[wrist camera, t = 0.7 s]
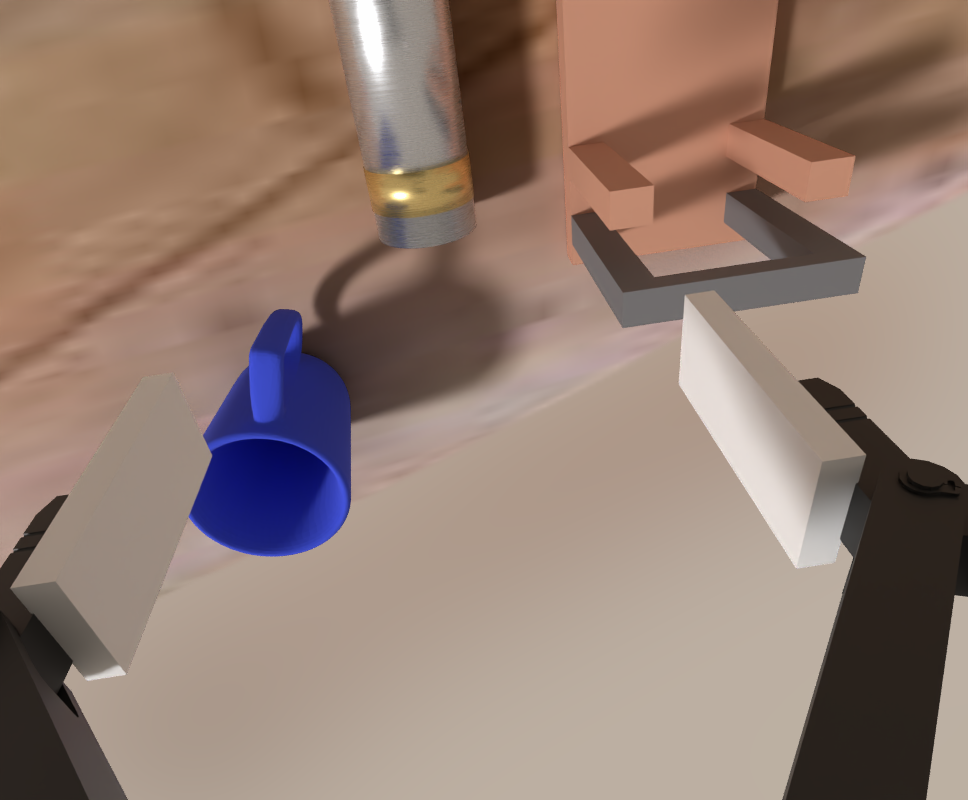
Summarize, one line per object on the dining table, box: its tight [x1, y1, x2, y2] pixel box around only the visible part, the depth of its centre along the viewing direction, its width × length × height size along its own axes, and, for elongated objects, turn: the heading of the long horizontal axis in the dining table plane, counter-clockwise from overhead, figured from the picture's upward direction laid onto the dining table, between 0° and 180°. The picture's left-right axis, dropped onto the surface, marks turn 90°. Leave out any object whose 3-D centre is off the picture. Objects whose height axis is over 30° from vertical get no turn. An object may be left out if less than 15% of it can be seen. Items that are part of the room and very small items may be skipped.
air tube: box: [329, 0, 477, 248], centre depth 27 cm, size 20×5×5 cm, turn 7°
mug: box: [189, 309, 351, 556], centre depth 35 cm, size 8×12×10 cm
